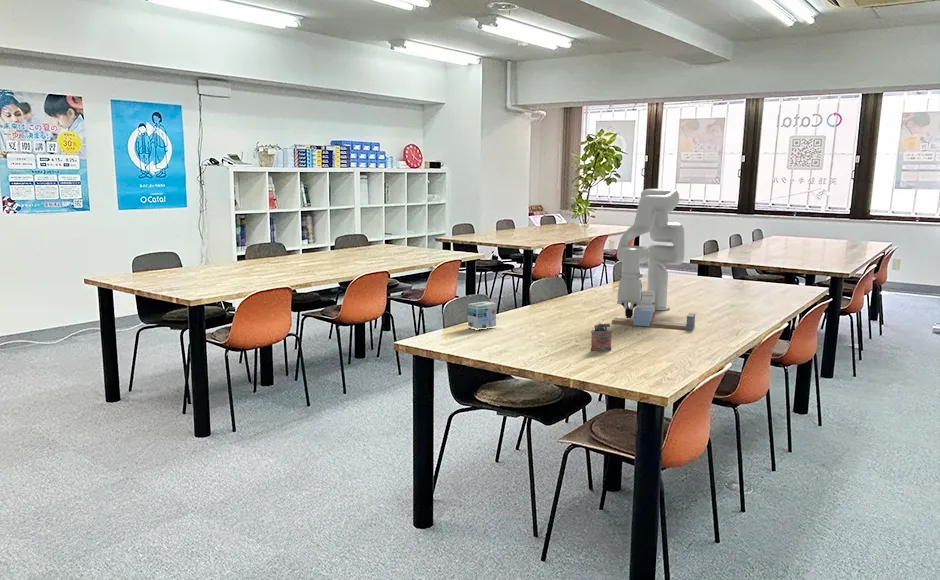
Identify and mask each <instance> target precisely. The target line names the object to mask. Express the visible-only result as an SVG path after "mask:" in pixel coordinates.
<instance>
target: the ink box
mask: <svg viewBox="0 0 940 580" xmlns="http://www.w3.org/2000/svg"><path fill="white" fill-rule="evenodd" d="M641 301H642V305H639V306H635V307H634V309H636V308H651V309H653V318H655V311H656V310H655V292H654V291H647V290H642V300H641Z"/></svg>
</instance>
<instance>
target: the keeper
mask: <svg viewBox="0 0 940 580" xmlns="http://www.w3.org/2000/svg"><path fill="white" fill-rule="evenodd" d="M632 319H633V325H632V326H637V325H639V326H638V327H649V326H650V322H651V321H654V317H653V309H651V308H636V309H635V308H633V318H632Z"/></svg>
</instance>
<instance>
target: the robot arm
mask: <svg viewBox="0 0 940 580" xmlns="http://www.w3.org/2000/svg"><path fill="white" fill-rule="evenodd" d="M679 202H680V194H679V192H678V190H677V189H674V188H646V189H644V190H642V191H641V193H640V199H639V202H638V206H637V210H636V212H635V213H636V214H635V216H634V217H635V218H634V221H633V222H634V223H633V224H632V225H631V226H630V227H629V228H627V230H625V231H624V232H623V234H622V235H621V237H620V238H619V242H618V247H617V250H616V251H617V252H616V257H617V260H618V261H619V262H621V278H619V283H618V286H617V287H618V288H617V301H616V303H617V304H618V305H621V306H622V307H623V308H624V310H625V312H624V315H625V317H626V318H625V319H632V317H634V309H635V306H639V305H642V301H641V300H642V291H643V284H642V278H643V277H644V276H643V275H644V274H642V273H641V272H640V268H641V264H646V263H647V284H646V285H647V287H646V288H647V289H646V291H654V292H655V311H668V310H670V309H671V308H670V306H669V305H668V303H667V302H668V282H669V281H668V280H669V272H668V270H667V268H666V266H665V265H676V266H677V265H678V266H679V265H681V264H683V262H684V260H685V228H684V226H683V225H682V224H681V222H680V223H679V222H671V221H670V222H669V214H670V213H672V211H674V209H676V207H677V206H678V204H679ZM648 233H649V236H650V240H651V241H652V242H657V243H654V244H651V245H649V246H648V247H646V246H641V245H629V243H630V242H631V241H632V240H633V239H634V238H635V239H636V238H637V237H639V236H641V235H644V234H648ZM666 243H672V244H666ZM640 278H641V279H640ZM629 303H630V306H629Z"/></svg>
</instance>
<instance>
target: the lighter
mask: <svg viewBox="0 0 940 580" xmlns="http://www.w3.org/2000/svg"><path fill="white" fill-rule="evenodd" d="M608 328H609V329H608ZM590 332H591V342H590V343H591V346H590V352H593V351H600V352H610V351H612V333H613V330H612V329H611V323H598V324H594V329H592V330H591V331H590Z"/></svg>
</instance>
